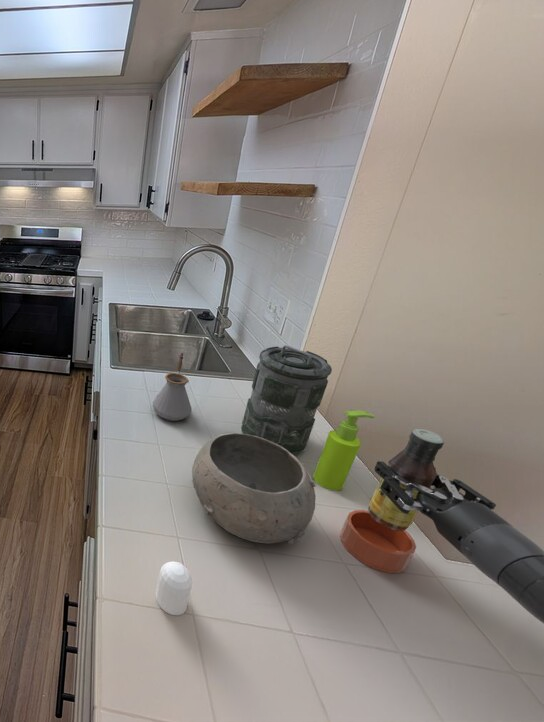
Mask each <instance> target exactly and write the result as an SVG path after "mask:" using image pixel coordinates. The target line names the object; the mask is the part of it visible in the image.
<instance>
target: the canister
mask: <svg viewBox="0 0 544 722" xmlns="http://www.w3.org/2000/svg"><path fill="white" fill-rule="evenodd" d="M258 358H259V362H258V363H257V364H256V369H255V372H254V376H253V379H252V384H251V389H252V390H251V394H250V397H249V398H247V403H246V407H245V411H244V414H243V418H242V422H241V428H240V429H241V432H242V433H241V434H249V435H253V436H257V437H260V438H263V439H266V440H269V441H271V442H273V443H275V444H277V445H280V446H282V447H283V448H285V449H286V450H288V451H289V452H290V453H291V454H293V455H294V456H297V455H299V454H302V453H303V452H304V451H305V450H306V447H307V445H308V442H309V439H310V436H311V434H312V430H313V428H314V424H315V421H316V418H315V416H316V412H317V410H318V408H319V407H320V406H321V403H322V400H323V397H324V395H325V392H326V389H327V386H328V383H329V380H328V378H329V376H330V375H331V374H332V370H333V368H332V366H331V365H330V364H329V362H328V360H327V359H326V358H324V357H323V356H321V355H319V354H317V353H314V352H312V351H309V350H306V351H304V350H300V349H297V348H295V347H292V346H290V345H287V344H284V345H283V346H282V347H280V346H271V347H270V346H269V347H266V348H264V349H263V350H262V351H261V352H260V353H259V357H258Z"/></svg>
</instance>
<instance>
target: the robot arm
mask: <svg viewBox="0 0 544 722" xmlns="http://www.w3.org/2000/svg"><path fill="white" fill-rule="evenodd" d="M387 464H388V463H386V462H384V461H380V460H378V461H376V464H375V466H374V472H375V473H376V474H377V475H378V476H379V477H380V478H381V477H382V478H383V479H384V481H383V483H382V485H381V487H380V489H381V490H382V491H383V492H384V493H385V494H386V496H387V497H388V498H389V499H390V500H391V501H392V502H393V503H394V504H395V505H396V507H397V508H398V509H399V510H400V511H401V512H403V513H406V514H408V513H409V512H410V510H415V511H418V512H420V513H421V514H422V515H424V516H426V517H428V518H429V519H430V520H432V522H433V524H434V526H435V528H436V532H438V533H439V534H440V536H441V537H443V538H444V539H445V540H446V541H447V542H448V543H449V544H450V545H452V546H453V547H454V549H456V551H458V552H459V553H460V554H461V555H462V556H463V557H464V558H466V559H467V560H468V561H469V562H470V563H471V564H472V565H473V566H474V567H476V568H477V569H478V570H479V571H480V572H481V573H482V574H484V575H485V576H486V577H488V578H489V579H490V580H492V581H493V582H494V583H495V584H497V586H499V587H501V588H502V590H504V591H505V592H506V593H507V594H508V595H509V596H510V597H511V598H512V599H514V600H515V601H516V602H517V603H518V604H519V605H520V606H521V607H522V608H523V609H524V610H526V611H527V612H528V613H529V614H530V615H532V616H533V617H534V618H535V619H537V620H538V621H539V622H541V623H542V624H544V549H542V547H541V546H540V545H538V544H537V543H536V542H535V541H533V540H532V539H531V538H529V537H528V536H527V535H525V534H524V533H523V532H521V531H520V530H519V529H517V528H516V527H515V526H513V525H512V524H510V523H509V522H508V521H507V520H505V519H504V518H503V517H502V516H500V515H499V514H498V513H496V512H495V511H494V510H495V508H496V506H497V504H496V503H495V502H493V501H492V500H490V499H489V498H488V497H486V496H484V495H483V494H481V493H480V492H479V491H477V490H475V489H474V488H472V487H471V486H469V485H468V484H467V483H465V482H464V481H462V480H459V479H456V478H454V479H452V480H450V479H449V478H447V477H445V476H443V475H440V474H438V473H437V472H436V477H435V480H434V481H433V483H432V485H431V488H427V487H425V486H423V485H421V484H419V483H417V482H415V481H412V482H410V481H408V480H406V479H404V478H402V477H400V476H399V475H398V474H397V473H396V472H395V471H394V470H393V469H391V468H390V467H389V466H388V465H387ZM400 483H401V484H403V485H405V486H406V490H404V489H402V488H401V487H400V486H399V484H400ZM432 487H433V488H432ZM391 489H392V490H391ZM415 489H417V490H419V492H418V494H417V496H416V498H414V497H413V493H414V490H415ZM461 490H462V491H464V492H465V493H464V494H463V493H462V492H460V491H461Z"/></svg>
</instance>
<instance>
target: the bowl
mask: <svg viewBox="0 0 544 722" xmlns="http://www.w3.org/2000/svg"><path fill="white" fill-rule="evenodd" d="M191 473H192V485H193V488H194V491H195V494H196V497H197V498H198V500H199V502H200V504H201V506H202V508H203V512H204V514H205V515H208V516H209V517H210V518H211V519H212V520H213V521H214V522H215V523H216V524H218V525H219V526H220V527H221V528H222V529H224V530H225V531H226V532H228V533H230V534H232V535H234V536H236V537H238V538H241V539H243V540H247V541H249V542H253V543H260V544H276V543H277V544H278V543H282V542H287V543H288V544H295V543H296V542H297V541H298V540H299V539H301V538H303V537H304V536H305V534H306V531H305V530H306V529H307V527H308V525H309V524H310V523H311V521H312V519H313V517H314V513H315V510H316V491H315V488H316V484H315V483H316V482H315V480H314V478H311V477H310V474H309V472H308V470H307V469H306V467H305V466H304V464H303V463H302V462H301V461H300V459H298V458H297V457H296V455H293V454H291V453H290V452H289V451H288V450H286V449H285V448H283V447H282V446H280V445H277V444H275V443H273V442H271V441H269V440H266V439H263V438H260V437H257V436H253V435H249V434H243V433H240V432H228V433H226V432H225V433H222V434H218V435H216V436H213V437H211V438H210V439H208V440H207V441H206V442H205V443H204V444H203V445H202V446H201V448H200V449H199V451H198V453H197V454H196V456H195V458H194V461H193V464H192V470H191Z"/></svg>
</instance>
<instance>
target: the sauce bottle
mask: <svg viewBox="0 0 544 722" xmlns="http://www.w3.org/2000/svg"><path fill="white" fill-rule="evenodd" d="M444 444H445V439H444V438H443V437H442V436H441V435H439V434H438V433H436V432H433V431H431V430H427V429H421V428H416V429H412V431H411V433H410V434H409V440H408V442H407V445H406V446H405V447H404V449H402V450H401V451H399V453H397V454H396V455H394V456H393V457H392V458H391V459H390V460H388V461H387V463H386V464H387V465H388V466H389V467H390V468H391V469H393V470H394V471H395V472H396V473H397V474H398V475H399V476H400V477H402V478H404V479H406V480H408V481H410V482H412V481H415V482H417V483H419V484H421V485H423V486H425V487H427V488H431V489H432V486H431V485H432V483H433V481H434V480H435V477H436V473H437V469H436V467H435V465H434V461H435V460H436V456H437V454H438V452H439V451H440V450H441V449H442V448H443V446H444ZM383 481H384V479H383V478H382V477H381V476H380V479H379V481H378V483H377V485H376V488H375V490H374V491H373V494H372V497H371V499H370V501H369V503H368V504H369V505H368V508H367V511H369V514H370V515H371V517H372V518H373V519H374V520H375V521H376V522H378V523H380V524H381V525H383V526H385V527H387V528H389V529H392V530H396V531H404V530H406V531H407V529H408V528H409V527H410V526H411V525H412V524H413V522H414V520H415V518H416V516H417V515H418V513H419V511H415V510H410V512H409V513H408V514H406V513H403V512H401V511H400V510H399V509H398V508H397V507H396V505H395V504H394V503H393V502H392V501H391V500H390V499H389V498H388V497H387V496H386V494H385V493H384V492H383V491H382V490H381V489H380V487H381V485H382V483H383ZM399 486H400V487H401V488H402V489H404V490H406V486H405V485H403V484H401V483H400V484H399ZM391 490H392V489H391ZM418 492H419V490H417V489H415V490H414V493H413V497H414V498H416V496H417V494H418Z"/></svg>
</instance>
